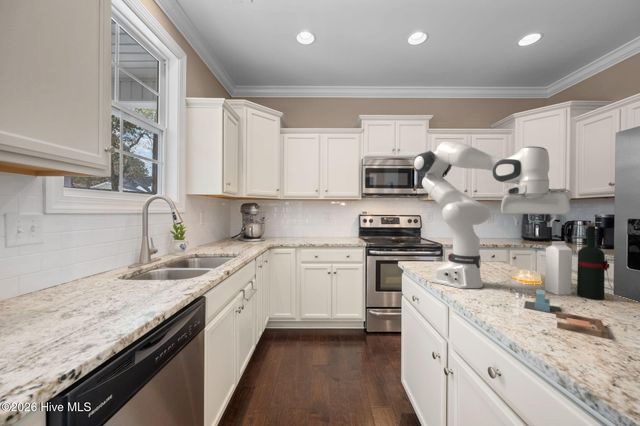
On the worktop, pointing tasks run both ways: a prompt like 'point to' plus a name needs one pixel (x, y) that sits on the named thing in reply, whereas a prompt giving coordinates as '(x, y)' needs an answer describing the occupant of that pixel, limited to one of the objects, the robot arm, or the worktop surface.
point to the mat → (532, 307)
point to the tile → (578, 322)
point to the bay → (580, 329)
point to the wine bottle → (591, 269)
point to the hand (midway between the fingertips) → (533, 226)
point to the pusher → (541, 301)
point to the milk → (558, 268)
